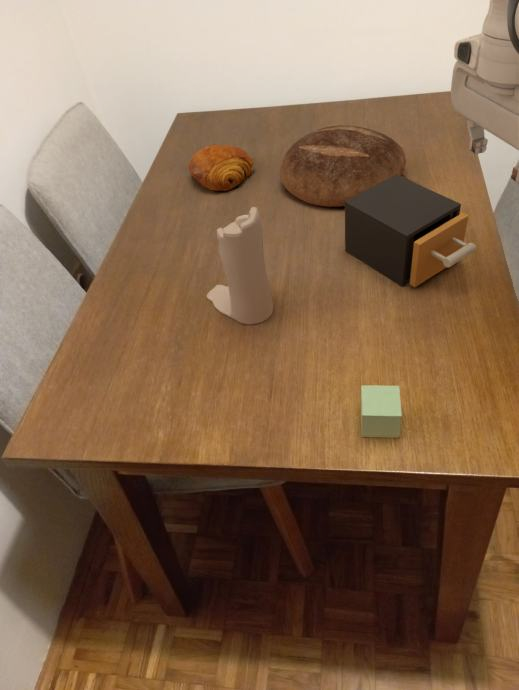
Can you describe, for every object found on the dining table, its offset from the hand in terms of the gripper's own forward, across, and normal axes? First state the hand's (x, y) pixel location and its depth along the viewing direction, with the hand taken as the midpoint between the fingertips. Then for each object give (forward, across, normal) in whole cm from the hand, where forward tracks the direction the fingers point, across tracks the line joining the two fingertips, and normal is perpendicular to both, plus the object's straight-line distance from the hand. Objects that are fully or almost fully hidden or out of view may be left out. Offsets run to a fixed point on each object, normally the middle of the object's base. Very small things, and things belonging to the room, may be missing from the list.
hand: (497, 165), depth 71 cm
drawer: (+22, +11, +4) cm, 25 cm away
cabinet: (+23, +15, +6) cm, 28 cm away
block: (+23, -17, +26) cm, 38 cm away
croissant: (+22, +60, +28) cm, 70 cm away
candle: (+22, +15, +37) cm, 45 cm away
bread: (+22, +45, +4) cm, 50 cm away
